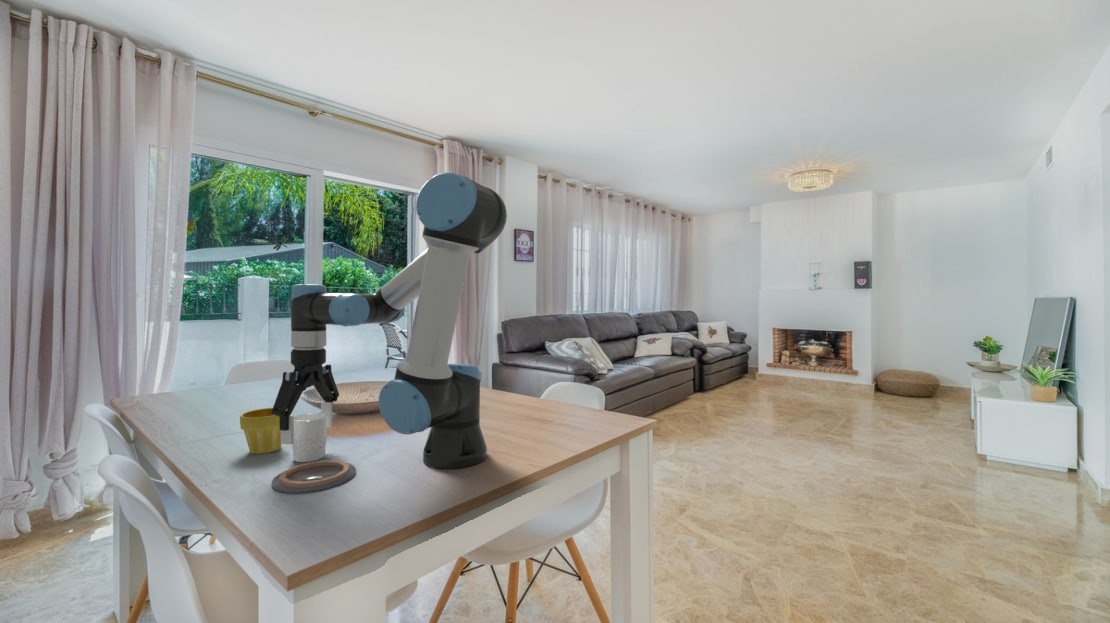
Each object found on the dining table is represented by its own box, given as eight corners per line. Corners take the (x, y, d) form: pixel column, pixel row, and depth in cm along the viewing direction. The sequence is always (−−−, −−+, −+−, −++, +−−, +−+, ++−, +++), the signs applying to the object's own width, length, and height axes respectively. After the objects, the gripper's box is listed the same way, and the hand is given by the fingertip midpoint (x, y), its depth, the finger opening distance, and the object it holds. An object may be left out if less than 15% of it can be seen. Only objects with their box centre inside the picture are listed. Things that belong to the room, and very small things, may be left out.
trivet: (370, 466, 104) (370, 460, 104) (324, 496, 88) (324, 488, 88) (308, 462, 107) (308, 456, 107) (252, 490, 91) (252, 483, 91)
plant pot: (235, 459, 109) (235, 418, 108) (245, 446, 118) (245, 409, 118) (285, 453, 113) (285, 414, 113) (291, 441, 122) (290, 405, 122)
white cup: (311, 464, 105) (311, 422, 105) (282, 462, 107) (282, 420, 107) (334, 453, 113) (334, 413, 113) (307, 451, 115) (307, 412, 114)
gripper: (328, 342, 122) (327, 420, 123) (252, 353, 98) (252, 450, 98) (353, 343, 121) (353, 422, 122) (283, 354, 97) (282, 453, 97)
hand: (308, 435), depth 110 cm, fingers open, 13 cm apart
